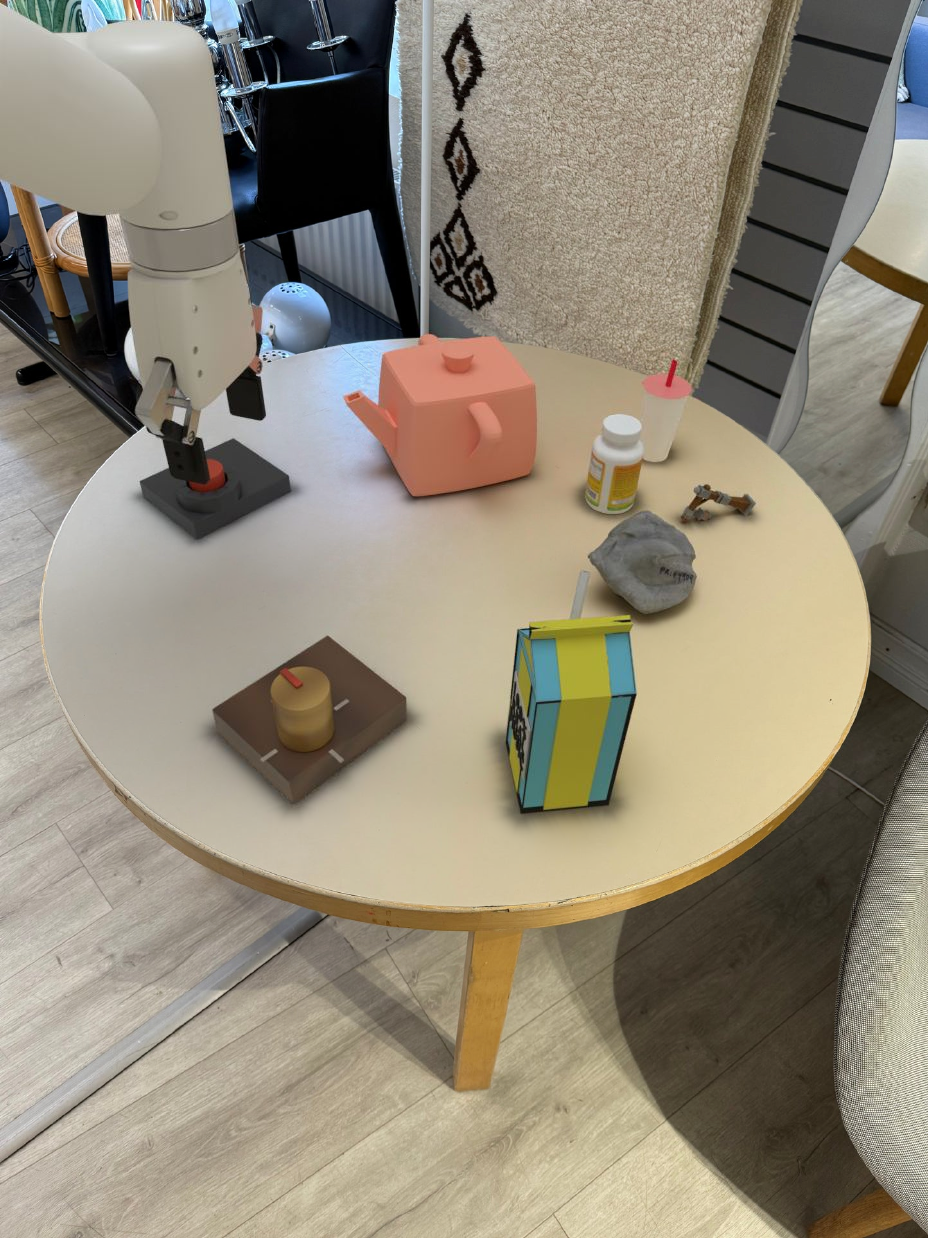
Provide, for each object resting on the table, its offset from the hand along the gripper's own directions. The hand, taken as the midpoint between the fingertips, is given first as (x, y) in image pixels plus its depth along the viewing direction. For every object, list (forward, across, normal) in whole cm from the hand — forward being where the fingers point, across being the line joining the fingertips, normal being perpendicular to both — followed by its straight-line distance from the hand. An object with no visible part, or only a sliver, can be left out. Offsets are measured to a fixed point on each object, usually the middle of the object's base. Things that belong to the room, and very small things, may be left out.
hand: (220, 446), depth 74 cm
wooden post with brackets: (+17, -28, +42) cm, 53 cm away
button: (+13, -11, -10) cm, 20 cm away
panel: (+17, +12, +12) cm, 24 cm away
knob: (+14, +15, +13) cm, 24 cm away
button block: (+17, -14, -10) cm, 24 cm away
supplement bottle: (+17, -27, +30) cm, 44 cm away
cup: (+17, -38, +33) cm, 53 cm away
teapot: (+17, -27, +10) cm, 33 cm away
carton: (+17, +10, +32) cm, 38 cm away
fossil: (+17, -13, +35) cm, 41 cm away
